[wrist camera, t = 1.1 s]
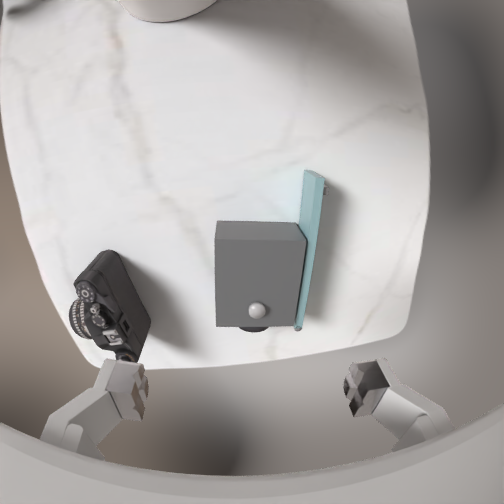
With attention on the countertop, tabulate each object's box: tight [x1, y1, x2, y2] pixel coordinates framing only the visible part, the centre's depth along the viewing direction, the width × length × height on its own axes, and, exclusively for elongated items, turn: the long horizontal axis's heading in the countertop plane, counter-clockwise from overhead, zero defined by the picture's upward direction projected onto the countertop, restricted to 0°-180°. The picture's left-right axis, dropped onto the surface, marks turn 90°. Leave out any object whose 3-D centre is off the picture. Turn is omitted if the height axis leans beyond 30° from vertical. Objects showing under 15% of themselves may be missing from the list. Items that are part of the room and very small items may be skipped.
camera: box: [69, 250, 151, 363], centre depth 35 cm, size 14×11×10 cm
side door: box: [294, 170, 329, 331], centre depth 36 cm, size 20×2×5 cm, turn 177°
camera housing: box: [215, 221, 306, 332], centre depth 36 cm, size 13×10×7 cm
